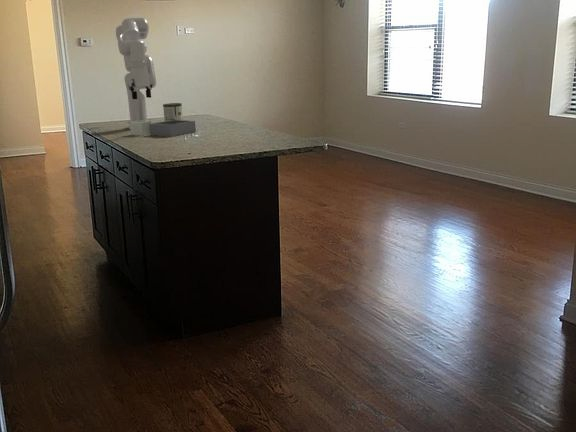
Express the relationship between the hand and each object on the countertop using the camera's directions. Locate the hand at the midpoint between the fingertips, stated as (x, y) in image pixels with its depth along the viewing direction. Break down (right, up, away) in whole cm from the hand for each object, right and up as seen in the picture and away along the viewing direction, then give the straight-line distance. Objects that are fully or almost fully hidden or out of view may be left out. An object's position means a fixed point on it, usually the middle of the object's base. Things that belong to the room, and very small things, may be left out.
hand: (141, 98), depth 336 cm
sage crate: (-1, -19, +5) cm, 19 cm away
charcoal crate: (+16, -18, +3) cm, 25 cm away
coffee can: (+13, -14, +22) cm, 29 cm away
